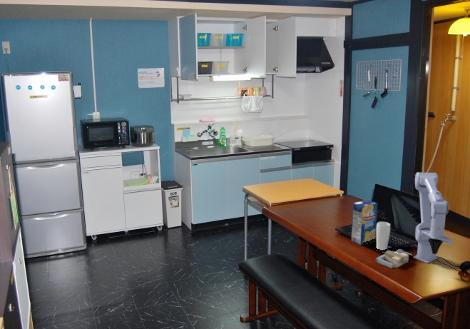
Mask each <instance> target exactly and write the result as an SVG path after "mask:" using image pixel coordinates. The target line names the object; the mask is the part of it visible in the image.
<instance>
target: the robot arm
mask: <svg viewBox="0 0 470 329" xmlns="http://www.w3.org/2000/svg"><path fill="white" fill-rule="evenodd" d="M414 176H415V178H414V185H415V187H414V188H415V189H416V190H417V191H418V193H419V194H418V195H419V204H420V206H419V207H420V219H421V220H420V221H421V223H419V224H417V225H416V226H415V233H414V236H415V240H416V241H417V244H418V245H417V251H416V252H417V253H416V255H414V256H413V258H414V259H416V260H417V261H421V262H424V263H427V264H429V263H431V262H433V261H435V260H436V259H438V256H437V254H438V252H439V250H440V247H441V245H442V244H443V243H447V244H448V245H453V242H454V240H453V239H452V238H450V237H448V236H446V235H445V234H444V233H445V225H446V224H445V223H446V215H448V213H449V209H450V207H449V203H448V201H447V200H445V199H444V197H443V194H442V192H441V191H439V190H438V187H437V184H438V182H439V175H438V173H436V172H416V173H415V174H414Z"/></svg>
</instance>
